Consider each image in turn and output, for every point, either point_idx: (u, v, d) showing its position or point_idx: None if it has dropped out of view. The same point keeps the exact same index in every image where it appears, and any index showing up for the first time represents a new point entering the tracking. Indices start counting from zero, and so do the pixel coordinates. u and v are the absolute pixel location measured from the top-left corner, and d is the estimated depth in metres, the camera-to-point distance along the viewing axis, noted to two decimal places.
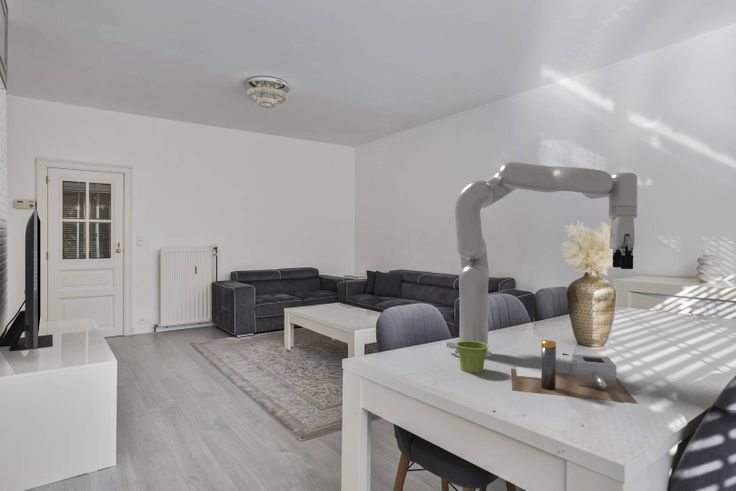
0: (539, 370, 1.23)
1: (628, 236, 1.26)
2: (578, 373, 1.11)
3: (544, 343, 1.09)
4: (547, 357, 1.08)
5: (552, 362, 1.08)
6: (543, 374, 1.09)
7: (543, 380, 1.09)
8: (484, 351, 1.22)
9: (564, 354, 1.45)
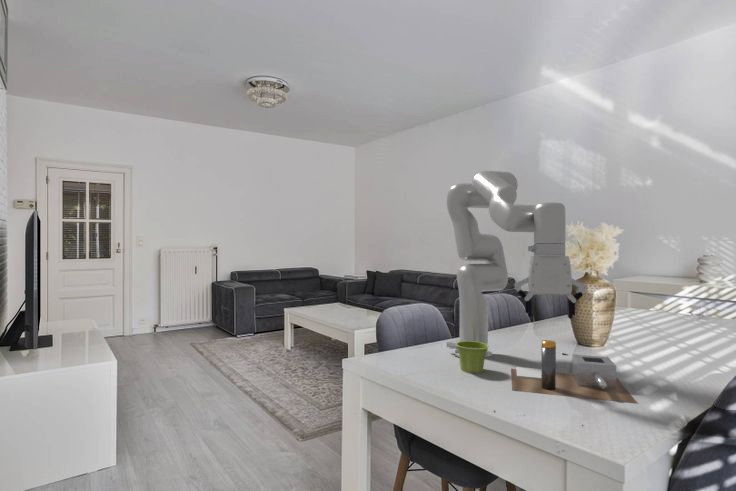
0: (539, 370, 1.23)
1: (575, 280, 1.07)
2: (578, 373, 1.11)
3: (544, 343, 1.09)
4: (547, 357, 1.08)
5: (552, 362, 1.08)
6: (543, 374, 1.09)
7: (543, 380, 1.09)
8: (484, 351, 1.22)
9: (564, 354, 1.45)
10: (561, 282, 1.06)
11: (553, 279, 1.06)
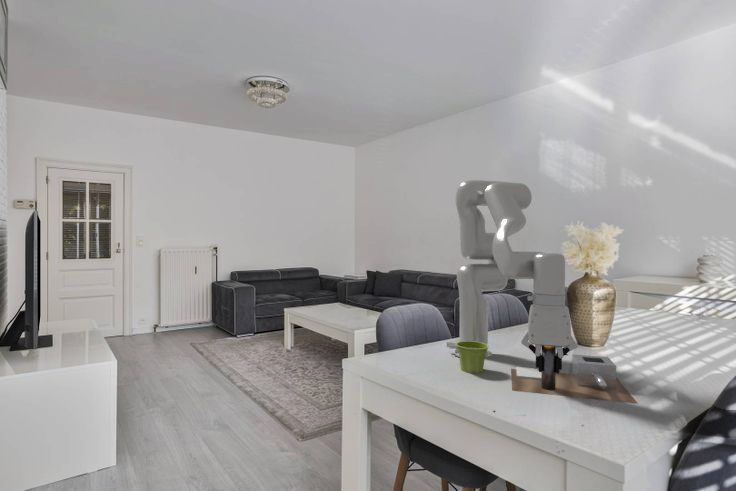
0: None
1: None
2: (578, 373, 1.11)
3: None
4: (547, 357, 1.08)
5: (552, 362, 1.08)
6: (543, 374, 1.09)
7: (543, 380, 1.09)
8: (484, 351, 1.22)
9: None
10: (560, 334, 1.06)
11: (552, 330, 1.07)
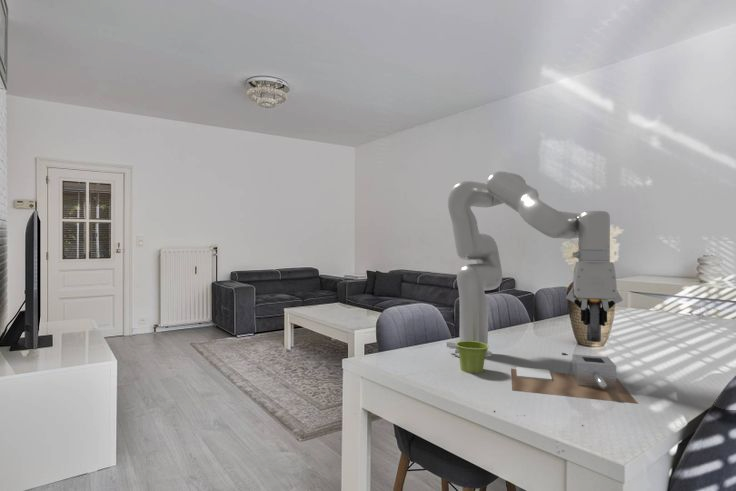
0: (539, 370, 1.23)
1: None
2: (578, 373, 1.11)
3: None
4: (593, 310, 1.13)
5: (598, 315, 1.12)
6: (589, 327, 1.14)
7: (589, 333, 1.14)
8: (484, 351, 1.22)
9: (563, 354, 1.45)
10: (606, 287, 1.11)
11: (598, 284, 1.11)
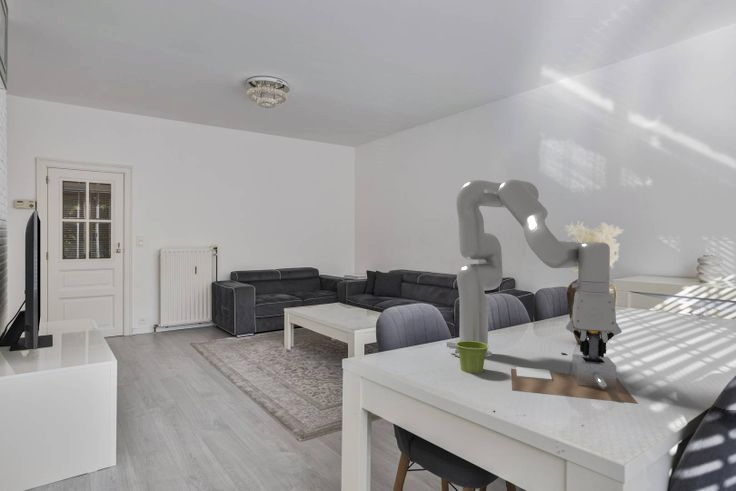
0: (539, 370, 1.23)
1: None
2: (578, 373, 1.11)
3: None
4: (592, 341, 1.13)
5: (597, 346, 1.13)
6: (588, 358, 1.14)
7: None
8: (484, 351, 1.22)
9: (563, 353, 1.45)
10: (606, 319, 1.11)
11: (598, 316, 1.11)
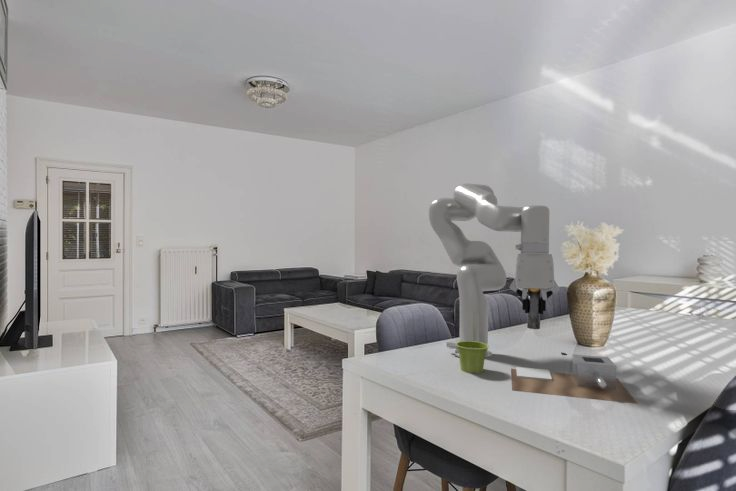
0: (539, 370, 1.23)
1: (554, 280, 1.19)
2: (578, 373, 1.11)
3: None
4: (532, 299, 1.19)
5: (537, 304, 1.19)
6: (529, 315, 1.20)
7: (529, 320, 1.20)
8: (484, 351, 1.22)
9: (563, 353, 1.46)
10: (544, 277, 1.17)
11: (537, 275, 1.18)
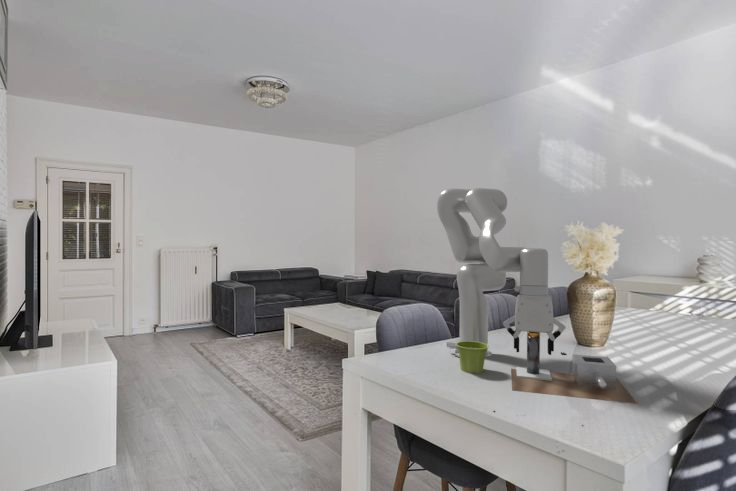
0: None
1: None
2: (578, 373, 1.11)
3: (529, 332, 1.20)
4: (532, 344, 1.19)
5: (536, 349, 1.19)
6: (528, 360, 1.20)
7: (528, 365, 1.20)
8: (484, 351, 1.22)
9: (562, 353, 1.46)
10: (543, 321, 1.17)
11: (536, 318, 1.18)
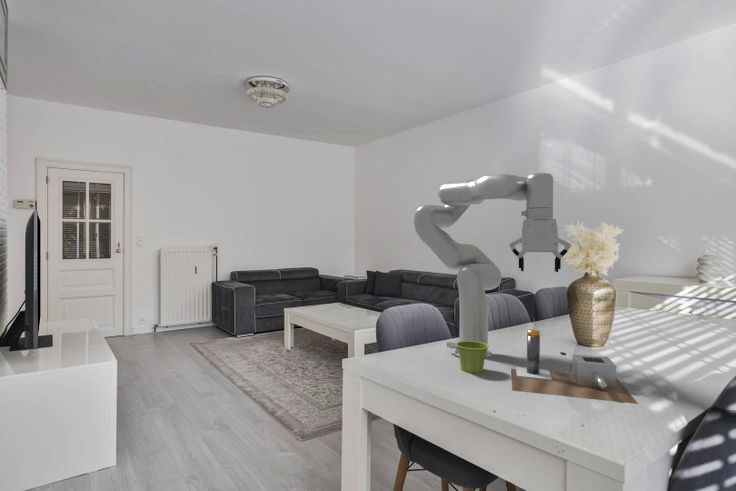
0: None
1: (561, 239, 1.26)
2: (578, 373, 1.11)
3: (529, 332, 1.20)
4: (532, 344, 1.19)
5: (536, 349, 1.19)
6: (528, 360, 1.20)
7: (528, 365, 1.20)
8: (484, 351, 1.22)
9: (562, 353, 1.46)
10: (549, 240, 1.24)
11: (542, 238, 1.25)
